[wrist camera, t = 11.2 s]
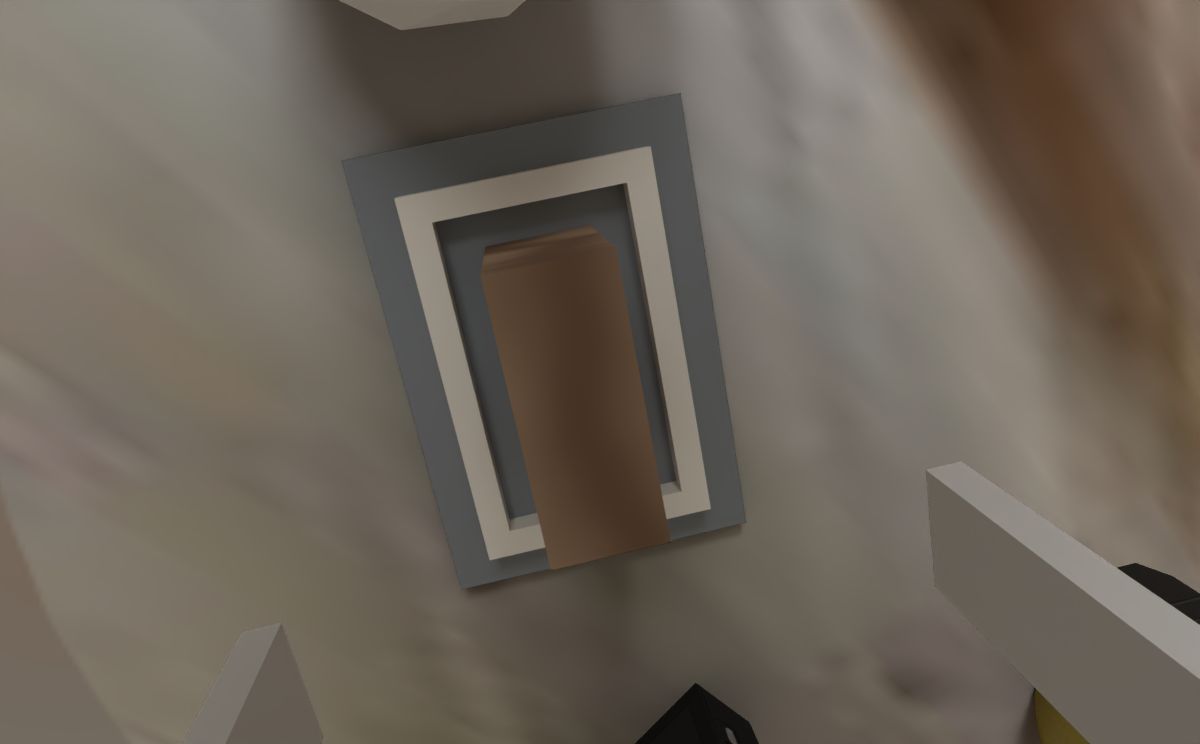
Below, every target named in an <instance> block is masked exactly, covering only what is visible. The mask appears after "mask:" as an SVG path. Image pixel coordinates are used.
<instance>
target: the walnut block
mask: <svg viewBox="0 0 1200 744" xmlns="http://www.w3.org/2000/svg"><path fill="white" fill-rule="evenodd" d="M480 277H481V281H482V285H483V289H484V293H485V298H486V302H487V306H488V310H489V314H490V318H491V323H492V327H493V331H494V335H495V339H496V343H497V348H498V352H499V356H500V360H501V364H502V368H503V373H504V377H505V381H506V385H507V389H508V393H509V398H510V402H511V406H512V410H513V414H514V418H515V423H516V427H517V431H518V435H519V439H520V444H521V448H522V452H523V456H524V460H525V464H526V469H527V473H528V477H529V481H530V485H531V489H532V494H533V498H534V502H535V506H536V510H537V514H538V519H539V523H540V527H541V531H542V535H543V539H544V544H545V548H546V552H547V556H548V560H549V564H550V569H551V570H555V569H559V568H564V567H568V566H572V565H576V564H581V563H585V562H589V561H593V560H598V559H602V558H606V557H610V556H615V555H619V554H623V553H627V552H632V551H636V550H640V549H644V548H649V547H653V546H657V545H661V544H666V543H670V542H671V540H670V535H669V530H668V524H667V519H666V514H665V508H664V503H663V498H662V492H661V487H660V481H659V476H658V471H657V465H656V460H655V455H654V449H653V444H652V439H651V433H650V428H649V422H648V417H647V412H646V406H645V401H644V396H643V390H642V385H641V380H640V374H639V369H638V364H637V358H636V353H635V347H634V342H633V337H632V331H631V326H630V321H629V315H628V310H627V305H626V299H625V294H624V288H623V283H622V278H621V272H620V267H619V262H618V256H617V251H616V247H615V246H613V245H612V244H611V243H610V242H609V241H608V240H607V239H605V238H604V237H603V236H602V235H601V234H600V233H599V232H597V231H596V230H595V229H594V228H593V227H592V226H591V225H587V226H582V227H577V228H572V229H568V230H563V231H558V232H553V233H549V234H544V235H539V236H534V237H529V238H525V239H520V240H515V241H510V242H506V243H501V244H496V245H491V246H486V247H485V252H484V258H483V264H482V270H481V275H480Z"/></svg>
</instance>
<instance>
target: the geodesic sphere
mask: <svg viewBox="0 0 1200 744" xmlns="http://www.w3.org/2000/svg"><path fill="white" fill-rule="evenodd" d="M339 1H341V2H343V3H345V4H347V5H349V6H351V7H353V8H356V9H358V10H360V11H362V12H364V13H366V14H368V15H370V16H372V17H374V18H376V19H378V20H380V21H382V22H385V23H387V24H389V25H391V26H393V27H395V28H397V29H399V30H408V29H415V28H423V27H431V26H438V25H446V24H454V23H461V22H469V21H477V20H484V19H492V18H500V17H507V16H509V15H510V14H511V13H512V12H513V11H514V10H516V9H517V8H518V7H519V6H520V5H521V4H522V3H523V2H525V1H526V0H339Z"/></svg>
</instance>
